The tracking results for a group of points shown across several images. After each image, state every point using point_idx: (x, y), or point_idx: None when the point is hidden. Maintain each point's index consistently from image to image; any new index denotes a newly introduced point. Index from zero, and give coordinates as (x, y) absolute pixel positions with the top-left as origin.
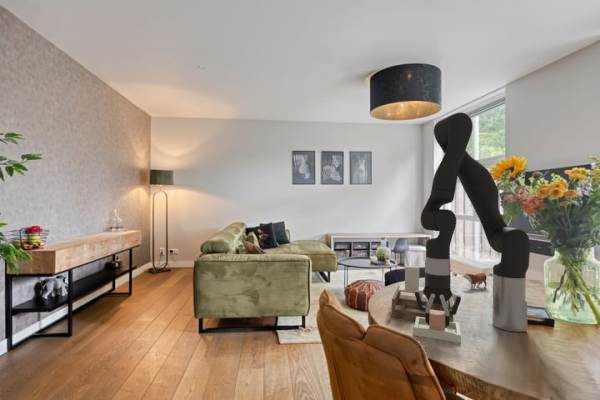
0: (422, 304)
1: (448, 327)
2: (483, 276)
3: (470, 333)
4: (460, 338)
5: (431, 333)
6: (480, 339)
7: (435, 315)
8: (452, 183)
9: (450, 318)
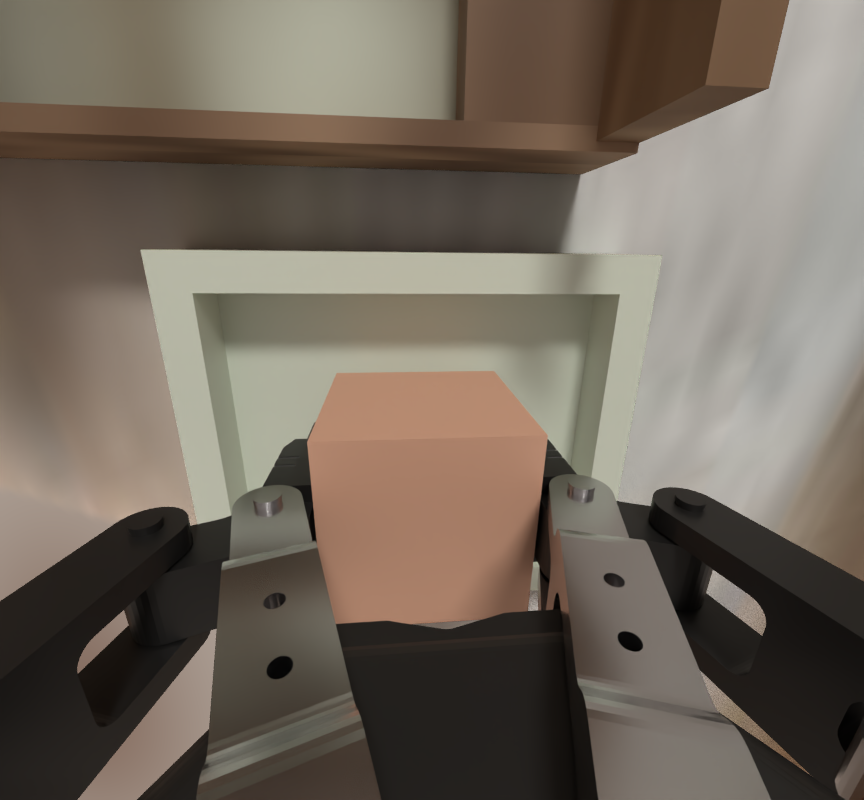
0: (145, 584)
1: (526, 312)
2: None
3: (702, 307)
4: None
5: None
6: (739, 410)
7: (405, 615)
8: None
9: (591, 156)
